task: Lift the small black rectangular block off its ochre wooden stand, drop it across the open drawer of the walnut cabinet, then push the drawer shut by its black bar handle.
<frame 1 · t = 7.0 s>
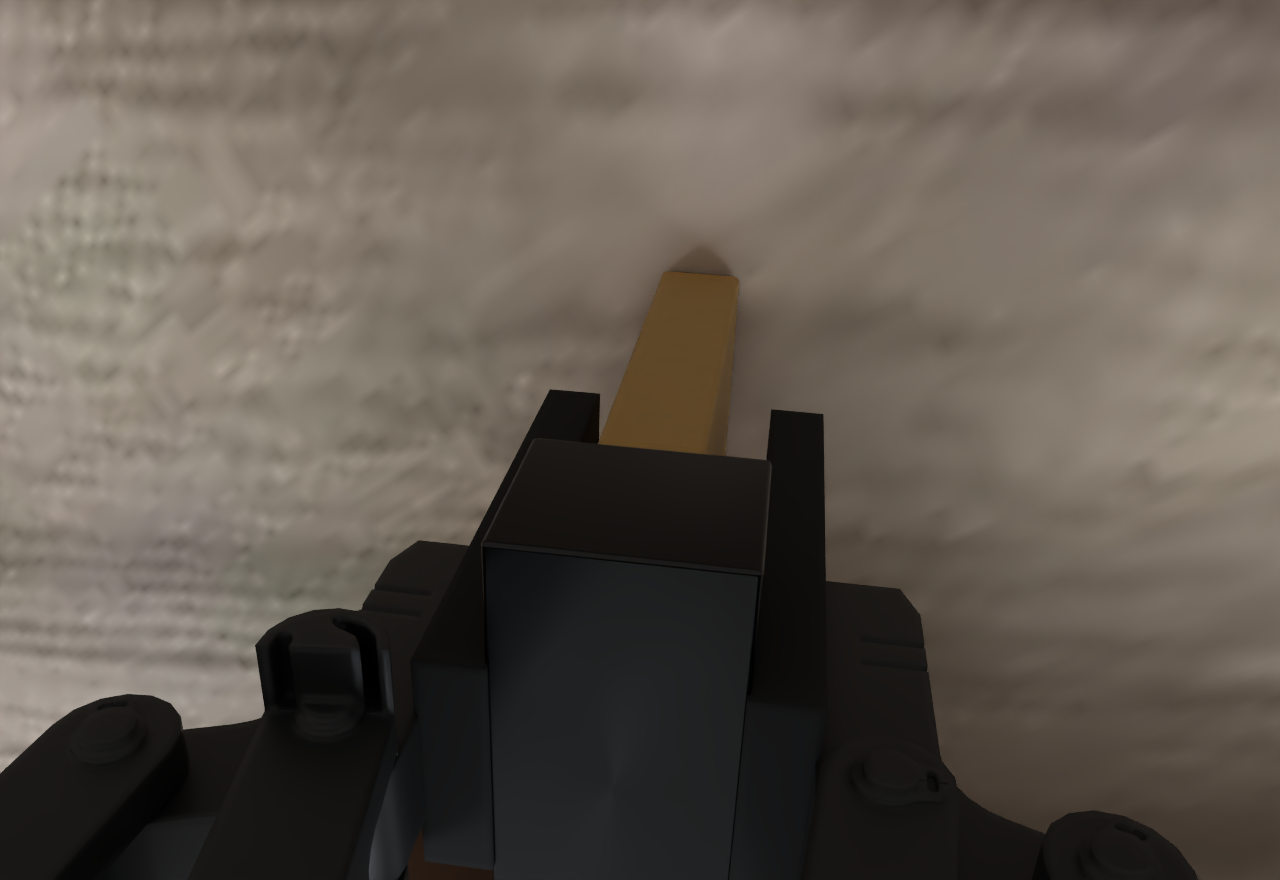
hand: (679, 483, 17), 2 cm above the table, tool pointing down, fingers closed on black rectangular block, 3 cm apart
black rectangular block: (635, 794, 14), point 6 cm above the table, touching gripper, knife stand
knife stand: (684, 545, 20), on the table
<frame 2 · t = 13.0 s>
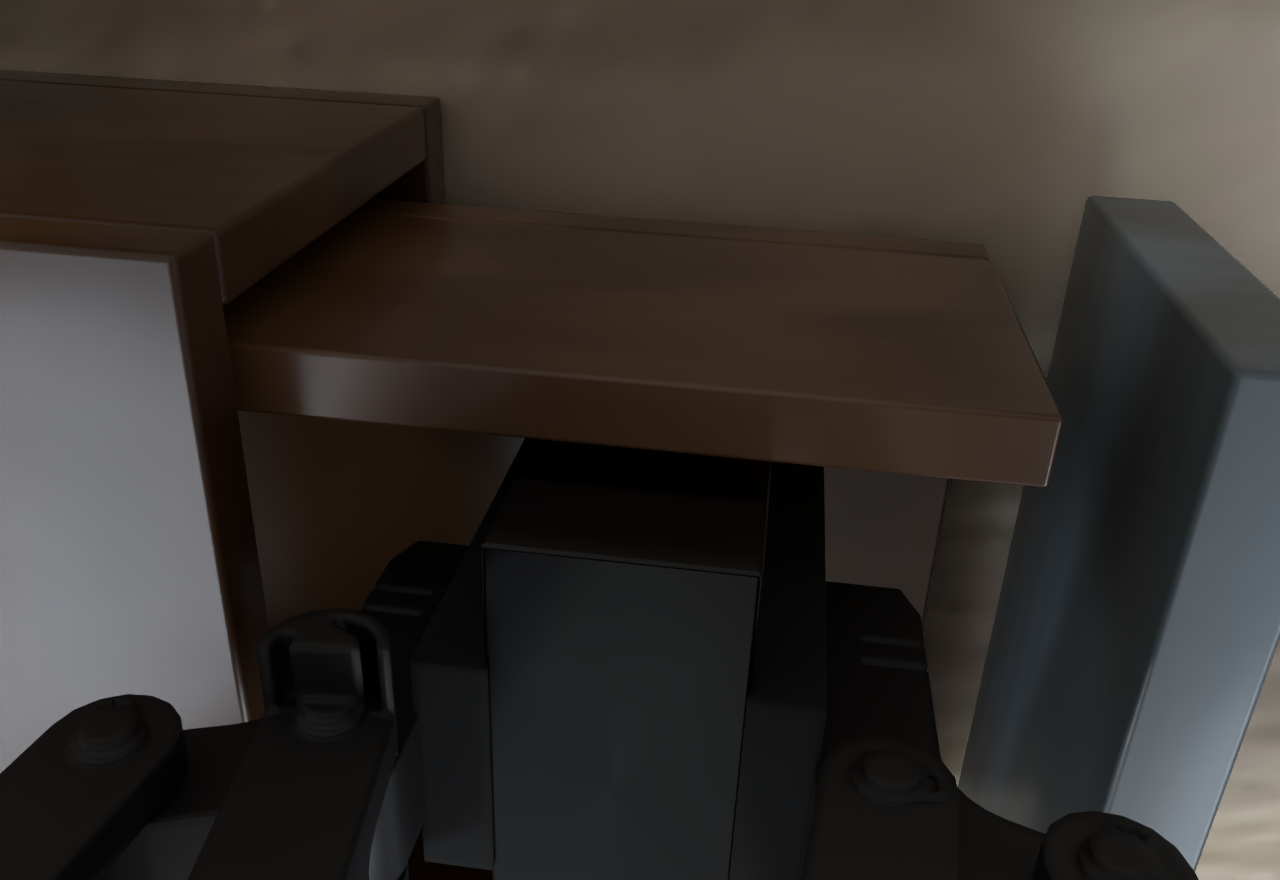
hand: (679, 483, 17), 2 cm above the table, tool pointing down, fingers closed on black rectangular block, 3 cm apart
drawer: (763, 685, 16), point 4 cm above the table, slide at 9.5 cm
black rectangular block: (635, 794, 14), point 6 cm above the table, touching gripper
cabinet: (61, 466, 21), on the table
when the fingers open (3 cm above the table, at t = 21.0 s): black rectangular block drops 5 cm, resting on drawer.
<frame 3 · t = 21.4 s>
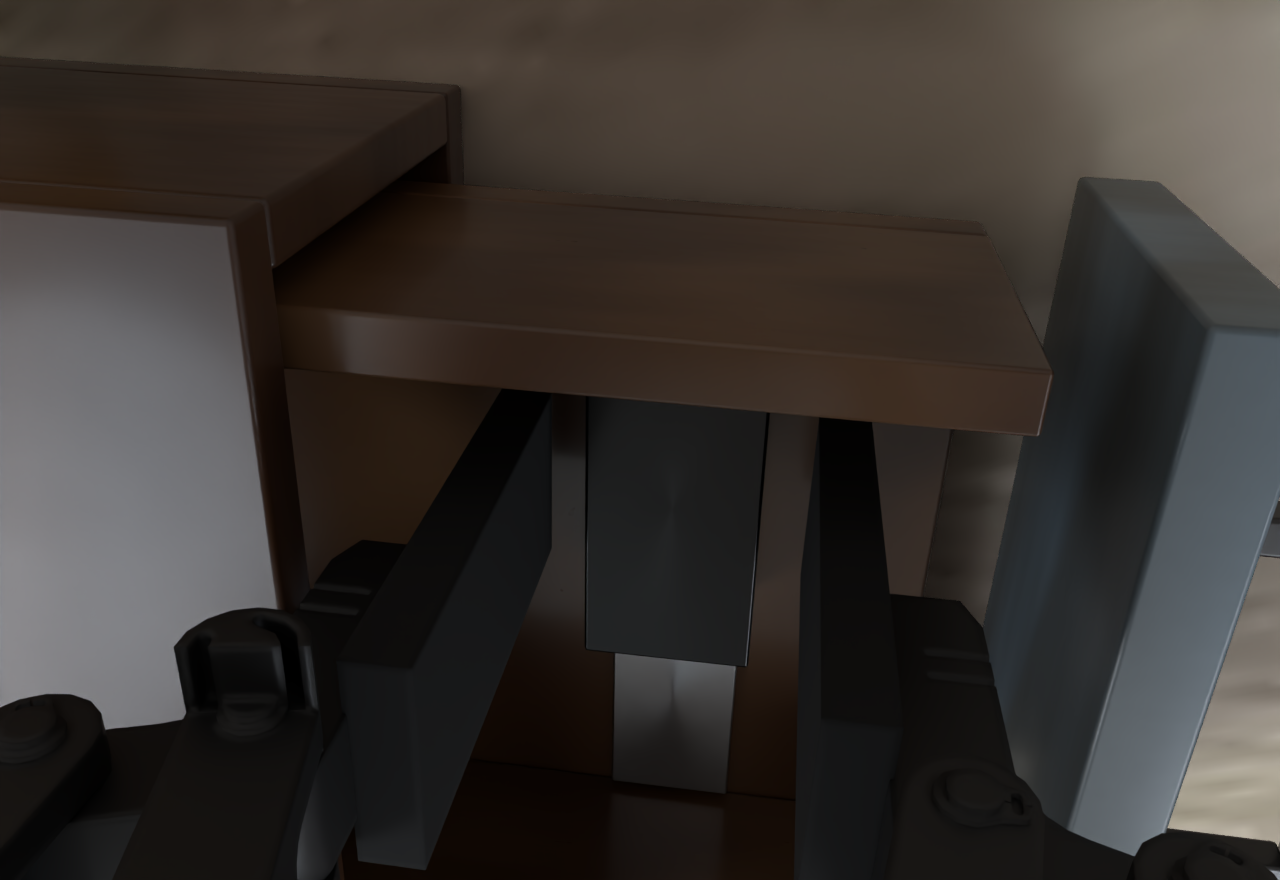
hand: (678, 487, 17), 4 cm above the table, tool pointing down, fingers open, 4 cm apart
drawer: (774, 638, 17), point 4 cm above the table, slide at 9.7 cm, touching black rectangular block
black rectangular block: (681, 557, 19), point 2 cm above the table, touching drawer
cabinet: (94, 439, 22), on the table
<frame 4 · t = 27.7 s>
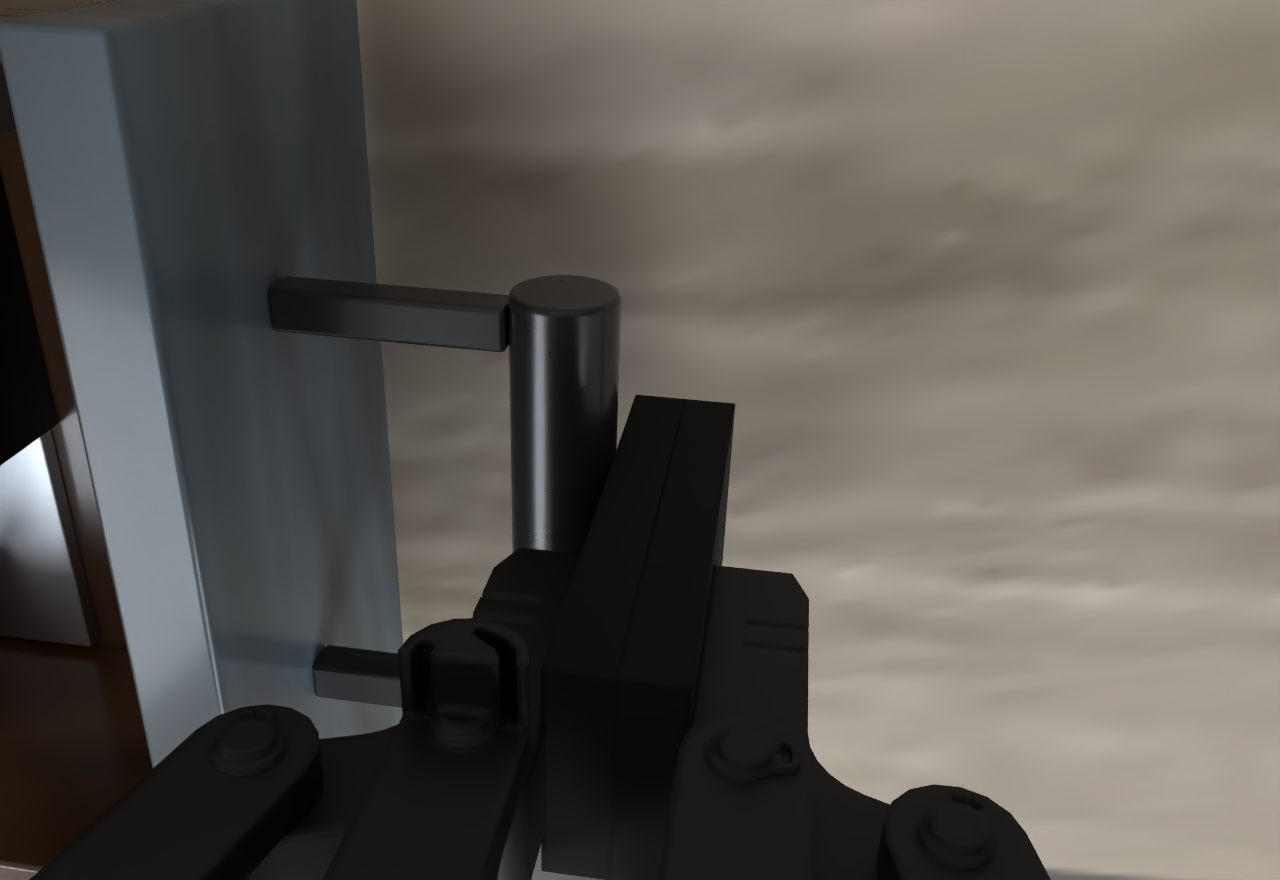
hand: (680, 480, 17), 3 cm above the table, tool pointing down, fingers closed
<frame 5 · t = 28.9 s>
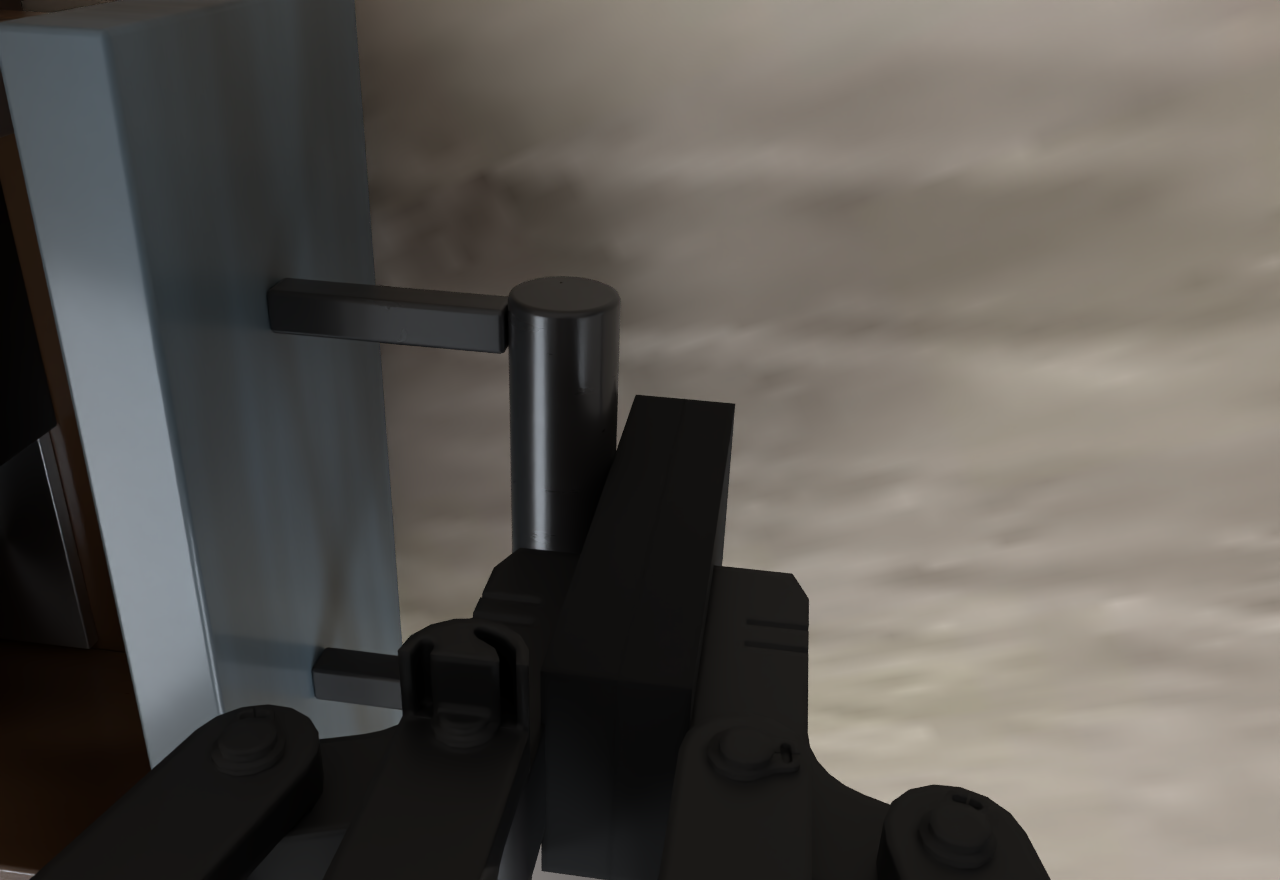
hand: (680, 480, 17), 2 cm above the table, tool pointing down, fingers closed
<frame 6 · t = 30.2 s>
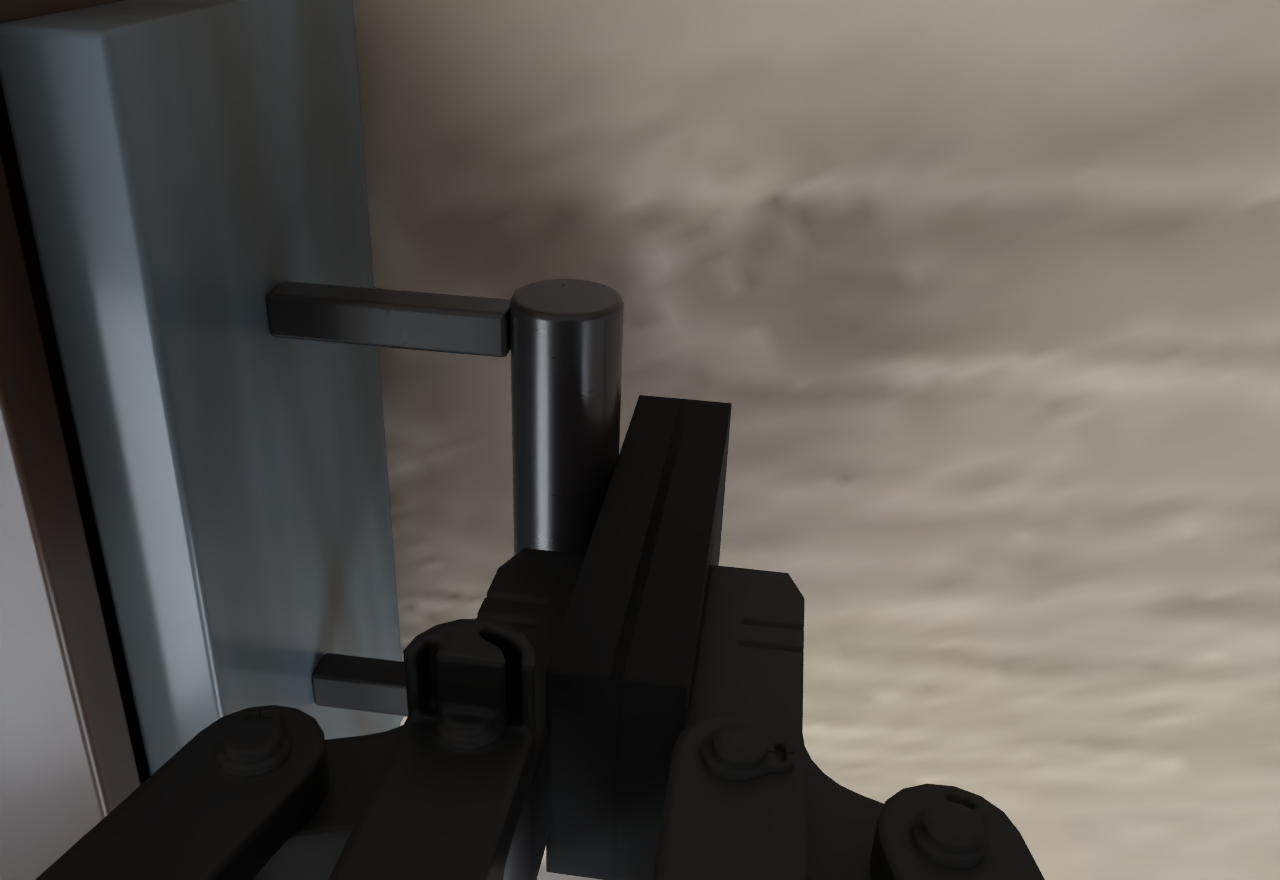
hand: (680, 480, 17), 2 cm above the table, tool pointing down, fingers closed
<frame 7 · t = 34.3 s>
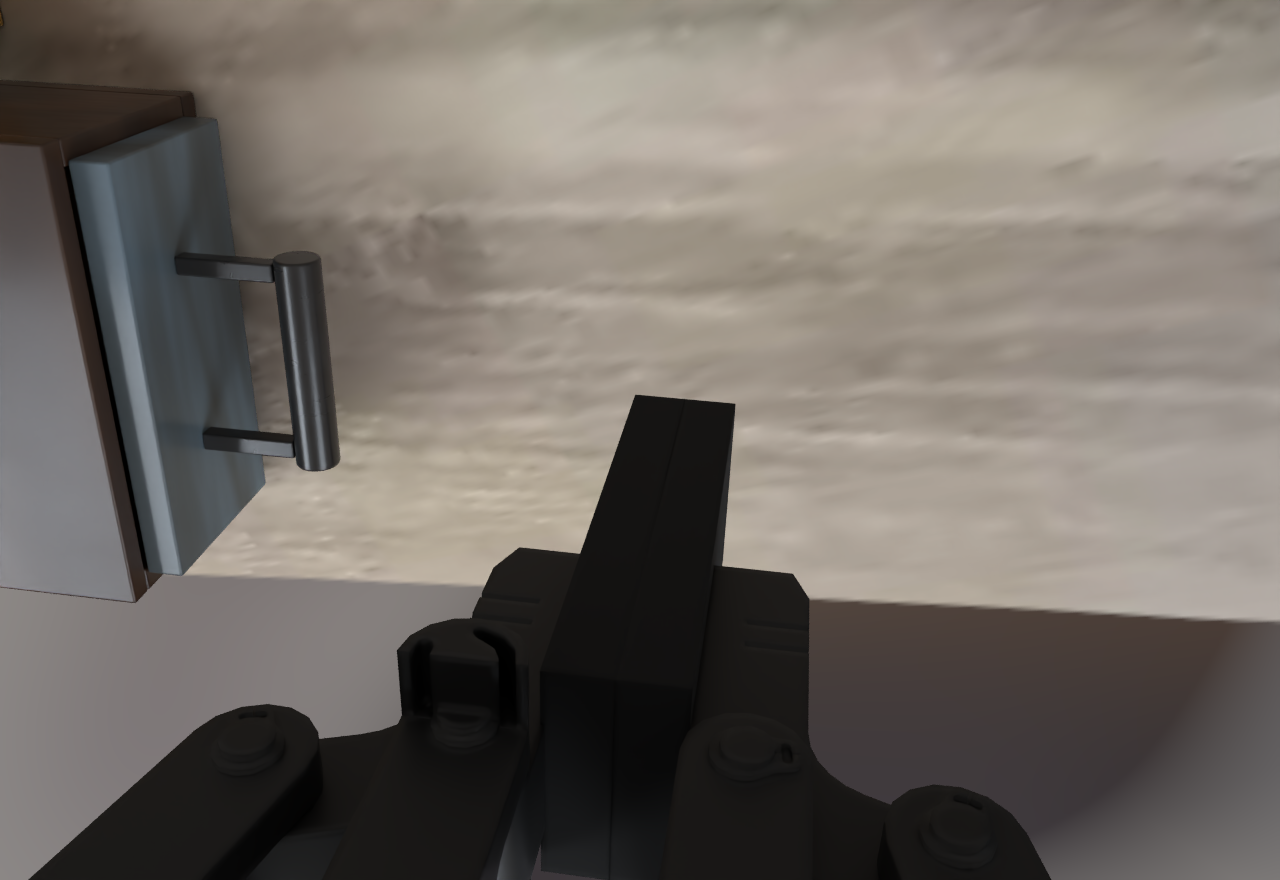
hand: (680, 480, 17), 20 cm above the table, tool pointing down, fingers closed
drawer: (55, 336, 37), point 4 cm above the table, slide at 0.0 cm, touching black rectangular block
cabinet: (19, 286, 41), on the table
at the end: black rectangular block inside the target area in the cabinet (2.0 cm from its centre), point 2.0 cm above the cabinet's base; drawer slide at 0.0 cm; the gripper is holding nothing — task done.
